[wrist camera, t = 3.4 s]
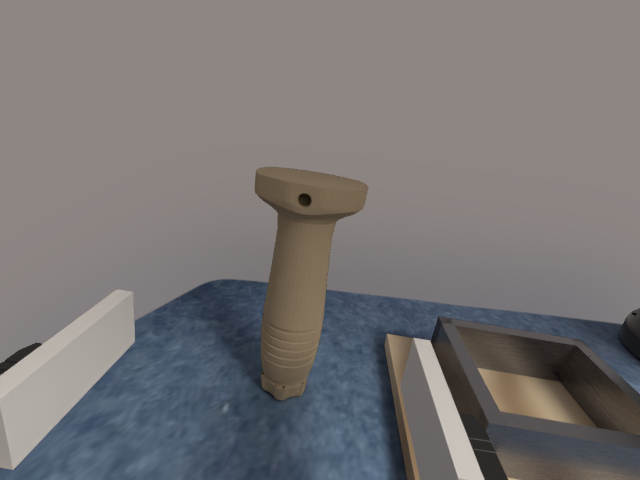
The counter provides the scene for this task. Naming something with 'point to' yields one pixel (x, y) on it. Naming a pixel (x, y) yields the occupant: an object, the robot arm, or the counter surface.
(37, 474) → the counter surface
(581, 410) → the mounting plate
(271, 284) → the handle
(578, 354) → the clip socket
